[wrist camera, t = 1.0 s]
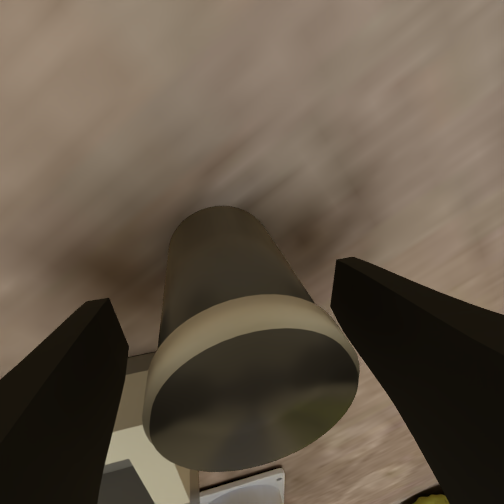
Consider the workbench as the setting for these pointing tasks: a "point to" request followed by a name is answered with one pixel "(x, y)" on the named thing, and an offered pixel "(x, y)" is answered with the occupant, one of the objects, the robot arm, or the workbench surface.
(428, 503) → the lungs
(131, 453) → the hollow square frame
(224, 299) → the knob
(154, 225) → the workbench surface
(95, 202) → the workbench surface
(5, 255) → the workbench surface
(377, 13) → the workbench surface
